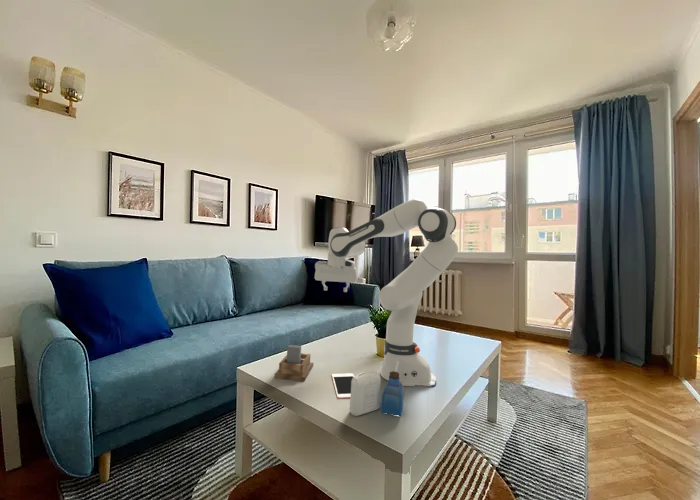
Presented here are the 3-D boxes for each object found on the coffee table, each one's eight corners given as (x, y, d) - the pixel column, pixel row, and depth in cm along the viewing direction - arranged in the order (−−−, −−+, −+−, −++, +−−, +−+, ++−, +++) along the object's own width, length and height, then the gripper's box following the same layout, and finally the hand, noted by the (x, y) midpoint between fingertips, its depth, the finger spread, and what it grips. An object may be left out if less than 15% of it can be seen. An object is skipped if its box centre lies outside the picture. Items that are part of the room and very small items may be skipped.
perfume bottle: (384, 403, 98) (386, 368, 98) (403, 407, 96) (404, 371, 96) (381, 413, 92) (383, 375, 92) (400, 417, 90) (402, 379, 90)
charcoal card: (300, 370, 116) (301, 345, 116) (298, 373, 114) (299, 347, 114) (288, 369, 117) (289, 344, 117) (286, 371, 115) (287, 346, 114)
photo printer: (373, 402, 98) (374, 366, 98) (381, 409, 94) (383, 371, 94) (347, 411, 92) (349, 372, 92) (355, 418, 88) (357, 378, 88)
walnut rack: (313, 366, 125) (313, 353, 124) (304, 381, 111) (305, 366, 111) (286, 363, 126) (287, 351, 126) (274, 378, 112) (275, 364, 112)
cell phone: (352, 375, 119) (353, 373, 118) (362, 398, 101) (362, 396, 101) (331, 376, 117) (331, 373, 117) (337, 399, 99) (337, 397, 99)
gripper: (313, 260, 134) (312, 290, 134) (357, 263, 132) (355, 293, 132) (316, 260, 140) (315, 288, 141) (358, 262, 138) (357, 291, 138)
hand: (335, 291), depth 136 cm, fingers open, 8 cm apart
